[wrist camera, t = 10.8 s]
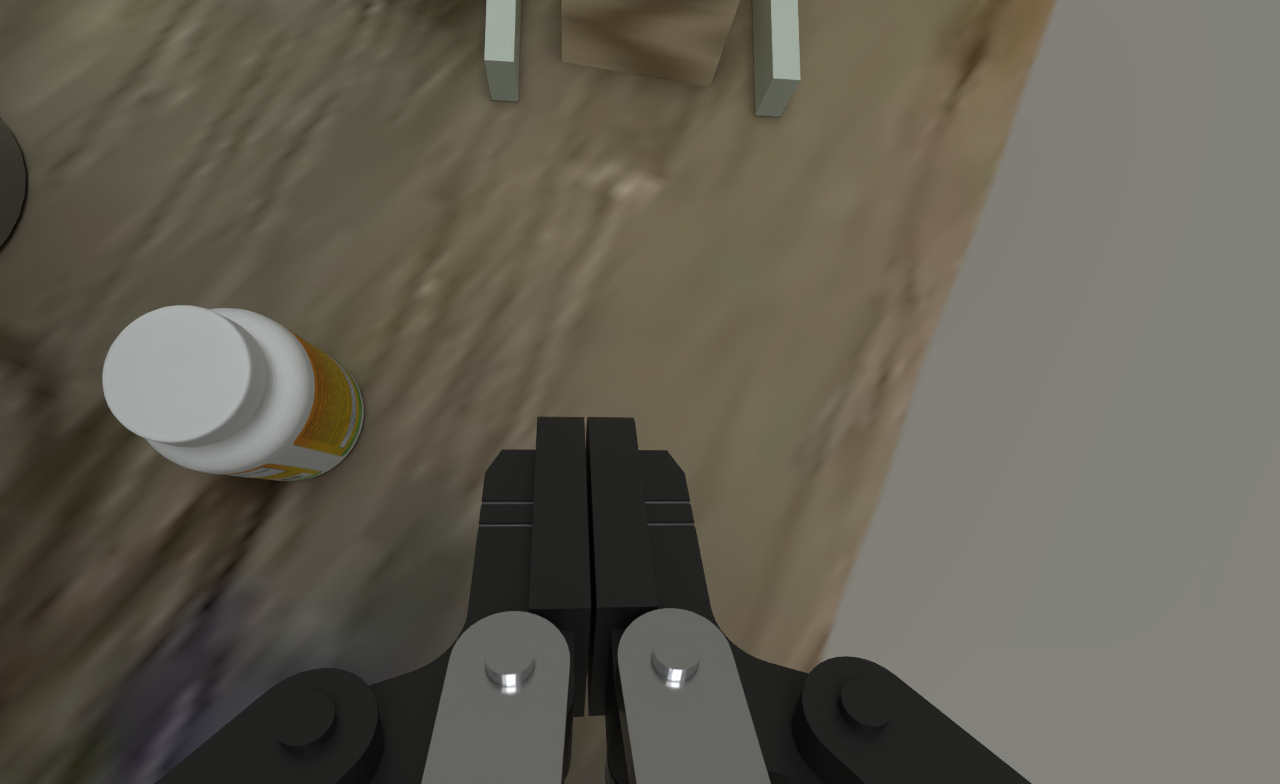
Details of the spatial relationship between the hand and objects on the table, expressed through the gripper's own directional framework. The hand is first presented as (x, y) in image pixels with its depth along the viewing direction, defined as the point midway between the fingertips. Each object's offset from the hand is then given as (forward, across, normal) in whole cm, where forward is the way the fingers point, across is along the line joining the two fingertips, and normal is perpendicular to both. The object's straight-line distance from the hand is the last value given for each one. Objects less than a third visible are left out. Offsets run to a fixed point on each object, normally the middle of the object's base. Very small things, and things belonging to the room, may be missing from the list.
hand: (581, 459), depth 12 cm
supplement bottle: (+16, +11, +12) cm, 23 cm away
